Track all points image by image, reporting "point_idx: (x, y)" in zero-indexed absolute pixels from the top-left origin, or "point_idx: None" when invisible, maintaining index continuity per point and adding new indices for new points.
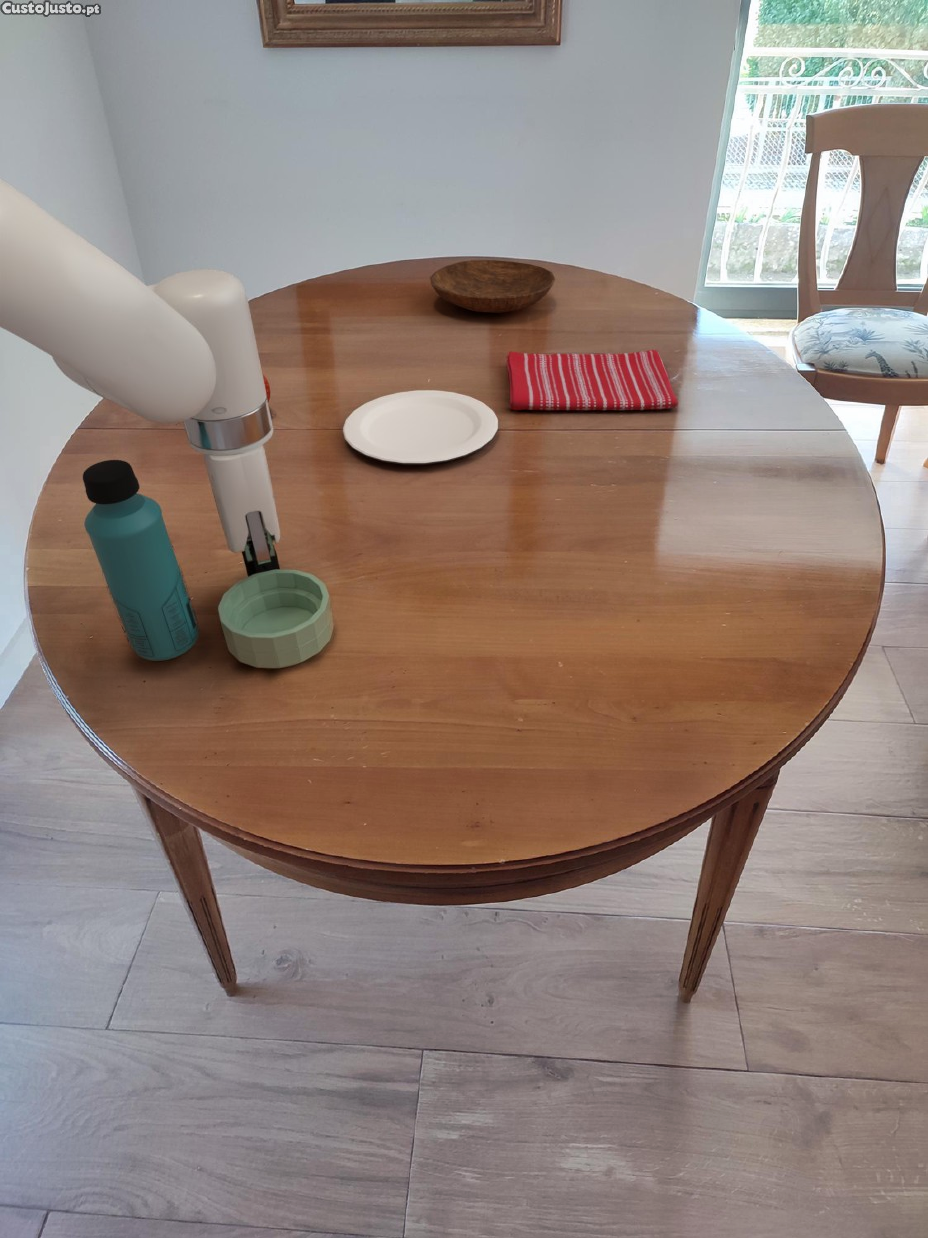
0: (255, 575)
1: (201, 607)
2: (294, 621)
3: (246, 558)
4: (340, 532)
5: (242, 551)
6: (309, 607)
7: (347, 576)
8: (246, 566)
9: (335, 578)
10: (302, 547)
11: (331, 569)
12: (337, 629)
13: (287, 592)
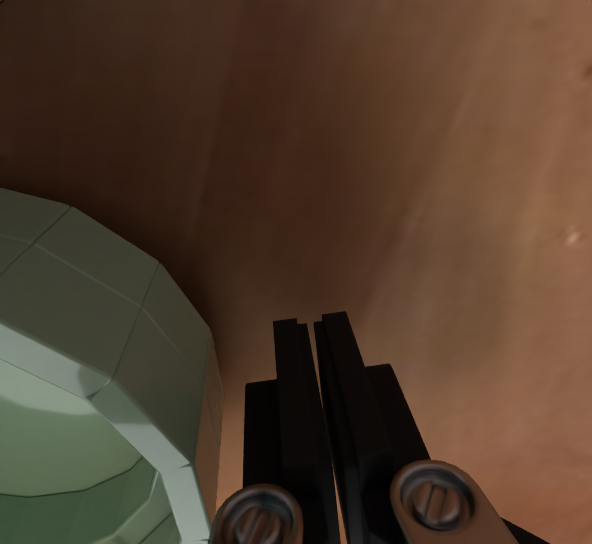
0: (169, 468)
1: (301, 36)
2: (70, 431)
3: (294, 479)
4: (555, 520)
5: (392, 454)
6: (117, 491)
7: None
8: (280, 426)
9: None
10: (540, 433)
11: None
12: None
13: (152, 481)
